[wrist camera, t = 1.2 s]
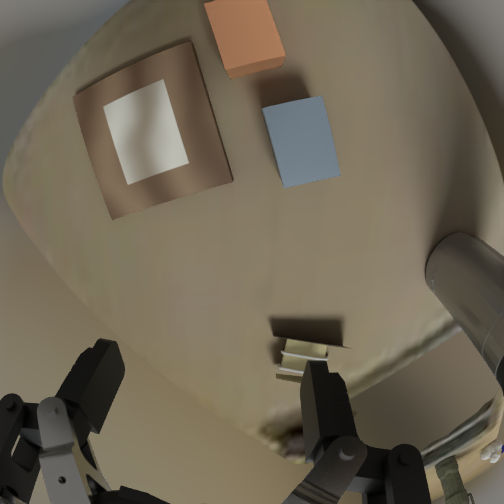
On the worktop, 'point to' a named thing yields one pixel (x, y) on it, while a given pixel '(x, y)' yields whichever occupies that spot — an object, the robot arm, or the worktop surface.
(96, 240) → the worktop surface
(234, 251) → the worktop surface
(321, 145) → the slate brick
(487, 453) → the bust
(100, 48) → the worktop surface
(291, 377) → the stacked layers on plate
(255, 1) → the terracotta brick
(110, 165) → the plate
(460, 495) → the thermos
